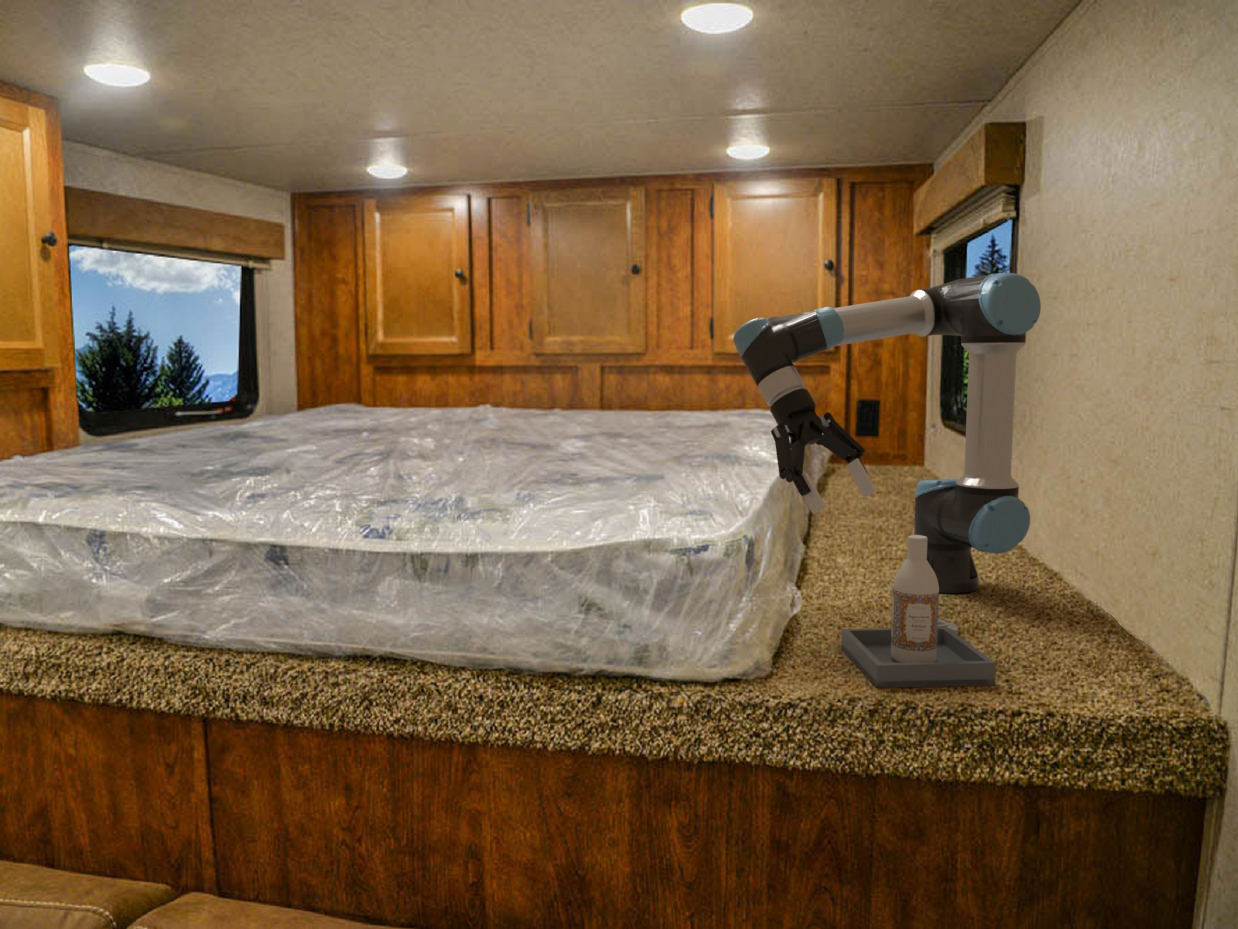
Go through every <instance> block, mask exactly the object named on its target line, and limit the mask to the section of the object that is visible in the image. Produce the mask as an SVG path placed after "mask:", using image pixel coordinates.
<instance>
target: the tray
mask: <svg viewBox="0 0 1238 929" xmlns="http://www.w3.org/2000/svg"><path fill="white" fill-rule="evenodd" d="M891 628H892V627H886V628H885V627H879V628H877V627H875V628H872V627H871V628H841V641H840V642H841V644H840V649H841V651H842V652H843V653H844V655H846V657H847V658H848V659H850V661H851V662H852V663H853V664H854V665H855V666H856V667H857V668H858V669H859V670H860V672H862V674H863V675H864V676H865V677H866V679H868V680H869V681H870V682H871V684H872V686H874V687H875V688H876V689H890V688H891V689H892V688H894V689H895V688H897V689H898V688H900V689H901V688H937V687H939V688H941V687H942V688H943V687H949V688H950V687H983V686H984V687H986V686H990V687H991V686H996V664H997V663H996V662H995V661H994V660H993V659H991V658H990V657H988V656H987V655H986V654H984V653H983V652H981V651H980V650H979V649H977V648H976V647H974V645H972V644H971V643H969V642H968V641H966V640H965V639H964V638H962V637H961V636H959V634H958V635H957V634H955V633H954V632H953V631H951V630H950V629H948V628H947V627H938V631H937V654H936V661H935V662H907V663H899V662H897V661H895V660H894V659H893V658H892V657H891Z"/></svg>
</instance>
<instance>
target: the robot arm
mask: <svg viewBox="0 0 1238 929" xmlns="http://www.w3.org/2000/svg"><path fill="white" fill-rule="evenodd" d="M1041 307H1042V305H1041V299H1040V294H1039V292H1038V290H1037V288H1036V287H1035V285H1034V284H1032V282H1031V281H1030V280H1029V279H1028V278H1027V277H1025V276H1024V275H1021V274H1019V273H1014V272H1004V273H1003V272H998V273H991V274H985V275H979V276H971V277H964V278H963V277H962V278H960V279H956V280H952V281H949V282H946V283H942V284H939V285H935V286H932V287H928V288H923V289H916V290H914V291H913V292H911V294H910V295H909V296H903V297H898V298H892V299H884V300H879V301H877V300H876V301H871V302H866V303H858V304H852V305H846V306H840V307H834V308H833V307H831V306H825V307H821V308H818V309H814V310H812V311H808V312H801V313H795V314H788V315H781V316H770V317H768V318H766V317H756V318H753V319H750V320H749V321H747V322H745V323H744V324H742V325H741V326H740V327H738V329H737V330H736V331H735V332H734V335H733V340H732V341H733V344H734V346H735V349H736V351H737V353H738V355H739V358H740V360H742V363H743V364H744V366H745V368H746V369H747V370H748V373H749V374H750V376H751V378H752V380H753V381H754V383H755V385H756V387H757V388H758V390H759V392H760V394H761V396H762V398H763V400H764V401H765V403H766V405H767V406H768V407H770V409H769V411H770V413H771V415H772V416H773V418H774V420H775V422H776V424H777V425H776V426H775V427H773V429H771V430H770V433H771V435H772V438H773V441H774V443H775V451H776V459H777V467H778V473H779V474H778V475H779V478H780V479H781V480H786V482H787V483H789V484H790V483H792V482H793V483H794V486H795V488H796V489H797V492H798V493H799V495H800V496H801V497H803V499H804V500H805V502H806V504H807V506H808V508H809V510H810V511H811V513H812V515H815V514H817V513H819V512H820V511H822V510H823V509H825V508H827V506H826V504H825V502H824V500H823V498H822V497H821V495H820V492H819V491H818V490H817V487H816V486H815V484H814V482H813V480H812V478H811V476H810V474H809V473H808V472H805V473H804V465H805V464H804V463H805V462H804V461H805V453H806V452H805V450H806V446H808V445H814V444H816V445H817V446H822V447H824V448H826V449H827V450H829V451H830V452H831V453H833V454H834V455H835V456H837V457H838V458H840V459H841V460H843V461H845V462H846V463H847V464H846V465H845V467H846V469H847V471H848V473H849V475H850V476H851V479H852V480H853V481H854V483H855V486H856V487H857V488H858V490H859V492H860V494H861V496H862V498H863V499H864V498H867V497H868V496H870V495H872V494H873V493H874V492H876V491H877V488H876V486H875V485H874V483H873V482H872V479H871V478H870V476H869V473H868V470H867V469H866V467H865V465H864V463H863V461H862V460H861V457H862V456H864V454H865V453H866V450H865V449H864V448H865V447H863V446H862V445H861V444H860V443H859V442H858V441H857V440H856V439H855V438H853V436H851V435H850V434H849V433H848V432H847V431H846V430H845V429H844V428H843V427H842V426H841V425H840V424H839V423H838V422H837V420H835V418H834V417H833V415H832V414H831V412H828V411H827V412H825V413H824V414H823V415H821V416H819V415H818V414H817V413H816V410H815V409H816V406H817V405H816V402H815V401H814V399H813V397H812V395H811V393H810V391H809V390H808V389H806V388H805V387H806V384H805V382H804V381H803V379H802V377H801V376H800V373H799V372H798V370H797V368H796V366H795V365H794V364H795V363H796V362H798V361H800V360H803V359H806V358H809V357H810V356H813V355H817V354H819V353H821V352H825V351H829V350H830V349H831V348H833V347H837V346H845V345H850V344H856V343H862V342H868V341H874V340H875V341H876V340H881V339H886V338H892V337H893V338H894V337H900V336H904V335H905V336H907V335H910V334H912V335H913V334H914V335H916V336H917V337H919V338H922V337H930V336H931V337H932V336H957V337H958V336H959V337H961V340H960V341H961V346H962V347H963V349H965V351H966V352H968V373H967V376H968V377H967V395H966V396H967V399H966V422H965V424H966V425H965V446H964V447H965V450H964V467H963V468H964V469H963V470H964V473H963V475H962V476H960V477H959V478H948V479H946V478H945V479H925V480H920V481H918V482H917V485H916V486H915V487H916V488H915V494H914V528H913V529H914V533H913V535H922V536H926V537H927V558H926V559H927V561H928V563H929V564H930V566H931V567H932V569H933V571H934V573H935V575H936V577H937V580H938V585H939V593H943V594H945V593H946V594H961V593H963V594H964V593H969V592H970V593H971V592H974V591H976V590H978V589H979V582H980V581H979V580H980V578H979V574H978V571H977V568H976V567H977V566H976V564H975V560H974V557H973V552H972V549H975V550H976V551H979V552H982V553H989V554H1004V553H1008V552H1010V551H1012V550H1014V549H1016V548H1017V546H1018V545H1019V544H1020V543H1021V542H1023V541H1024V539H1025V538H1026V536H1027V534H1028V531H1029V529H1030V525H1031V514H1030V510H1029V508H1028V506H1026V504H1025V502H1024V501H1023V500H1021V499H1020V498H1019V490H1020V489H1019V488H1020V486H1019V483H1018V482H1017V481H1016V480H1015V478H1013V477H1012V462H1013V461H1012V460H1013V456H1012V455H1013V437H1014V418H1015V417H1014V416H1015V414H1014V412H1015V396H1016V395H1015V394H1016V393H1015V392H1016V374H1017V373H1016V372H1017V371H1016V370H1017V354H1018V352H1019V351H1020V350H1022V348H1023V347H1025V346H1026V343H1027V342H1026V341H1027V340H1026V339H1027V333H1028V332H1029V331H1030V330H1032V329H1033V328H1034V325H1035V324H1036V323H1038V320H1039V318H1040V315H1041V309H1042V308H1041Z"/></svg>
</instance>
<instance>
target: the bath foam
mask: <svg viewBox="0 0 1238 929" xmlns="http://www.w3.org/2000/svg"><path fill="white" fill-rule="evenodd" d="M906 550H907V551H906V552H907V554H906V555H907V558H906V559H905V561H903V563H902V565H901V566H900V568H899V569H898V570H897V572H896V574H895V577H894V579H893V584H892V599H891V600H892V603H891V604H892V605H891V627H890V628H891V657H892V658H893V659H894V660H895V661H897V662H899V663H907V662H935V661H936V654H937V631H938V618H939V603H940V602H939V601H940V600H939V598H940V592H939V585H938V580H937V577H936V575H935V573H934V571H933V569H932V567H931V566H930V564H929V563H928V561H927V559H926V558H927V537H926V536H922V535H914V534H912V535H908V536H907V548H906Z"/></svg>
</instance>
